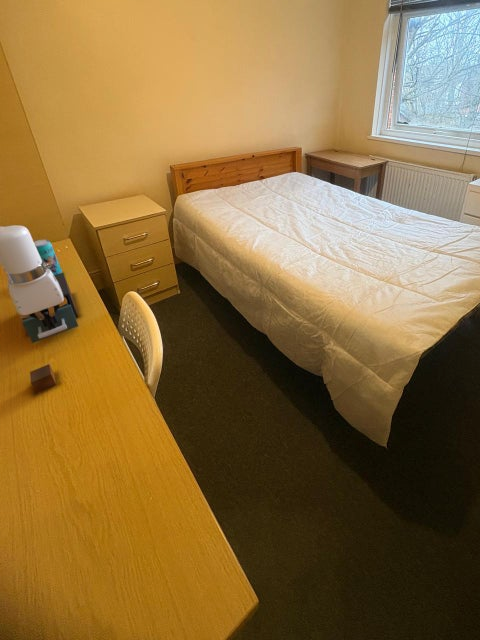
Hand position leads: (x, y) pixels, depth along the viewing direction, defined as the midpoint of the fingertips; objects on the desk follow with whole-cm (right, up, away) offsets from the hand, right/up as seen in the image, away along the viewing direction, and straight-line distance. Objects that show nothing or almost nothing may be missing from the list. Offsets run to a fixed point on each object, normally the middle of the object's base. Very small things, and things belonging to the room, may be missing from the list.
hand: (52, 326), depth 91 cm
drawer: (-5, -2, +7) cm, 9 cm away
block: (+6, -12, -10) cm, 17 cm away
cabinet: (-11, +1, +14) cm, 17 cm away
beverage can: (-24, +10, +32) cm, 41 cm away
